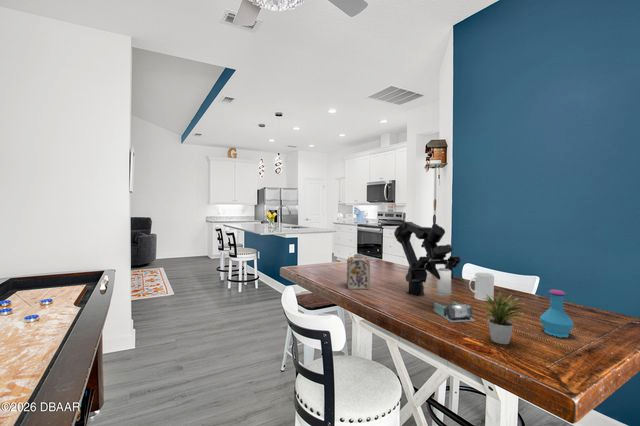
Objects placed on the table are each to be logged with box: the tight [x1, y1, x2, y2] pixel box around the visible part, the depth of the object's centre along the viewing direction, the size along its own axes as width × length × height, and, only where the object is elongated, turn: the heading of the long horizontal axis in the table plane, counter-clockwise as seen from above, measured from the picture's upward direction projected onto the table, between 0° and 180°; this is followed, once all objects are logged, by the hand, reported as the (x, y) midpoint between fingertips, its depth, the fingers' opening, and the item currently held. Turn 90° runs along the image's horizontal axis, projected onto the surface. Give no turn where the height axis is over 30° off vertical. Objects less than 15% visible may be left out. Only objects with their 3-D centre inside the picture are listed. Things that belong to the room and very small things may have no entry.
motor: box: [432, 301, 475, 323], centre depth 120 cm, size 13×10×6 cm
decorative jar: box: [346, 253, 371, 290], centre depth 164 cm, size 12×12×18 cm
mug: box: [468, 271, 495, 302], centre depth 144 cm, size 12×8×12 cm
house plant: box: [481, 290, 529, 345], centre depth 96 cm, size 14×14×16 cm
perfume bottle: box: [539, 289, 574, 338], centre depth 104 cm, size 9×9×15 cm
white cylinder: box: [436, 267, 452, 296], centre depth 127 cm, size 6×6×10 cm
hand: (445, 278), depth 125 cm, fingers closed on white cylinder, 5 cm apart
